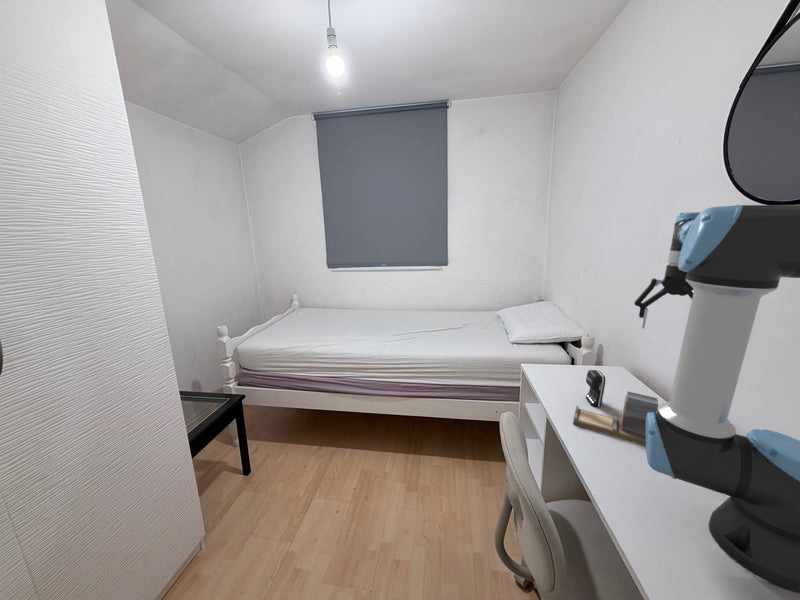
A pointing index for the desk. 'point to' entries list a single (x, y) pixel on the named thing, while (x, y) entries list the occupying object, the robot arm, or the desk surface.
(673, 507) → the desk surface
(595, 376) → the battery charger
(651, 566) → the desk surface
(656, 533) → the desk surface
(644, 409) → the organizer
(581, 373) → the desk surface
